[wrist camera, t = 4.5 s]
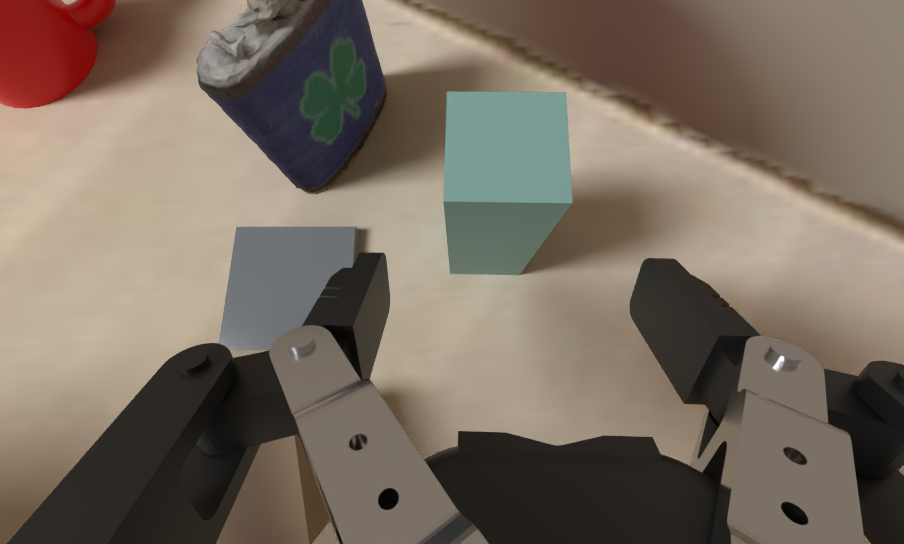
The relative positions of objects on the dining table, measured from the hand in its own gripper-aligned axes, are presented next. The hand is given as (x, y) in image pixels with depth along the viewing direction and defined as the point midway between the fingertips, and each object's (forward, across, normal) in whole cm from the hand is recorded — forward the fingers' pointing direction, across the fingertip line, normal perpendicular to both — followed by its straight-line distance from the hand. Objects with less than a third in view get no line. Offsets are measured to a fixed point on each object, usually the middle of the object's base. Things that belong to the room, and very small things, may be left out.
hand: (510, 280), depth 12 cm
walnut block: (+1, +10, +12) cm, 16 cm away
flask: (+15, +9, -1) cm, 17 cm away
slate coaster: (+8, +11, +6) cm, 15 cm away
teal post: (+10, 0, +4) cm, 10 cm away
